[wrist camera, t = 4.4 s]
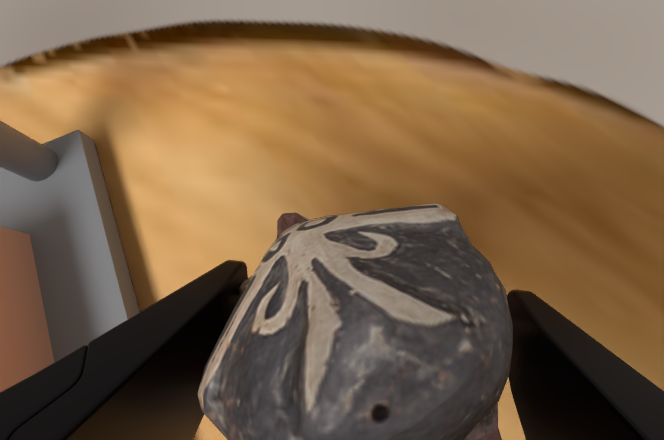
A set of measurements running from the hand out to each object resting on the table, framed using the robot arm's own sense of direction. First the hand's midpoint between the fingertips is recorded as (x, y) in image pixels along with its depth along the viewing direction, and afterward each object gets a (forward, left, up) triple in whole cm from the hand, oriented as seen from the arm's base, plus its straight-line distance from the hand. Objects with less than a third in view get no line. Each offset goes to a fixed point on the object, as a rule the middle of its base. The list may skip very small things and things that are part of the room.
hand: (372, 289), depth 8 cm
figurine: (-1, +1, -7) cm, 7 cm away
